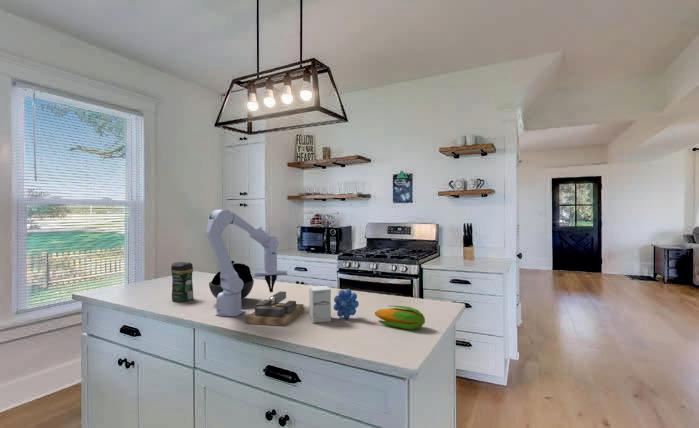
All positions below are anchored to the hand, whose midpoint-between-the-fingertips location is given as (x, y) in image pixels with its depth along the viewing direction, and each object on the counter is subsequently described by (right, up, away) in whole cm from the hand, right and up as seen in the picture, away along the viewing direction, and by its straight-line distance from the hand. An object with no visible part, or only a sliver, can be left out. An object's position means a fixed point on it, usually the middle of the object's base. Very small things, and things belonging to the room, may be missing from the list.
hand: (271, 291), depth 157 cm
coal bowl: (-20, -7, +6) cm, 22 cm away
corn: (+54, -6, -30) cm, 62 cm away
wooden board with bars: (+6, -6, -17) cm, 19 cm away
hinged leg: (+4, -4, -4) cm, 6 cm away
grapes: (+35, -6, -20) cm, 41 cm away
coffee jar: (-46, -7, +12) cm, 48 cm away
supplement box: (+24, -6, -22) cm, 33 cm away
